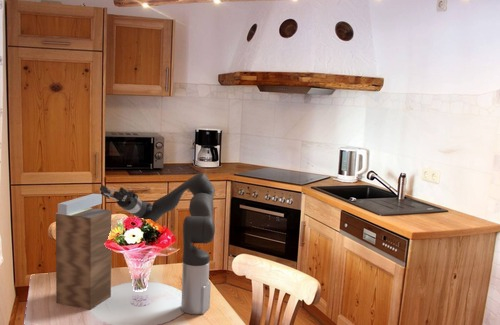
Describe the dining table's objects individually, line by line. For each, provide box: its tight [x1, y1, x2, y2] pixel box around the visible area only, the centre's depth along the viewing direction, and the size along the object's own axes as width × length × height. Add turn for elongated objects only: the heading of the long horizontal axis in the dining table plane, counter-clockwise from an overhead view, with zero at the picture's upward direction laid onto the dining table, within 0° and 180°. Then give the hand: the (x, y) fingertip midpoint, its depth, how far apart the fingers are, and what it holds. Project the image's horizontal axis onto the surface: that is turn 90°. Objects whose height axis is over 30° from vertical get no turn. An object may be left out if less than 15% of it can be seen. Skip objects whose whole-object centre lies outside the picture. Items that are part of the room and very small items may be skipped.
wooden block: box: [55, 207, 112, 310], centre depth 170 cm, size 14×12×32 cm
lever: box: [57, 193, 103, 215], centre depth 172 cm, size 4×20×4 cm, turn 162°
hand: (110, 188), depth 189 cm, fingers open, 8 cm apart
